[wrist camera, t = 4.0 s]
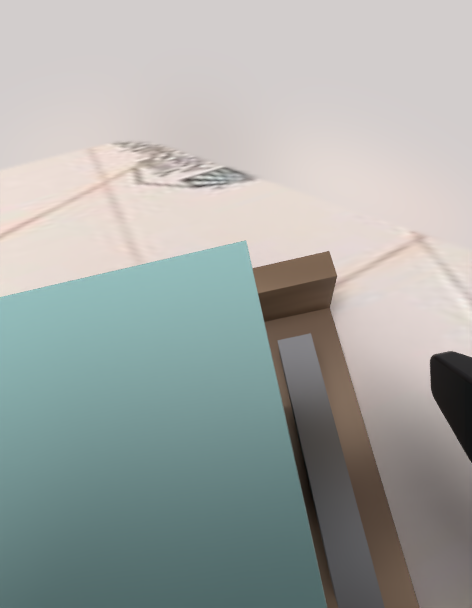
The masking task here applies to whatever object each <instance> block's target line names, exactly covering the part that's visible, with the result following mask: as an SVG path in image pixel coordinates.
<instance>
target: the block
mask: <svg viewBox="0 0 472 608" xmlns="http://www.w3.org/2000/svg"><path fill="white" fill-rule="evenodd" d="M0 608H327V604H326V599H325V595H324V590H323V585H322V581H321V576H320V571H319V567H318V562H317V558H316V553H315V548H314V544H313V539H312V535H311V530H310V525H309V521H308V516H307V512H306V507H305V503H304V498H303V493H302V489H301V484H300V480H299V475H298V471H297V466H296V462H295V457H294V453H293V448H292V444H291V439H290V434H289V430H288V425H287V421H286V416H285V412H284V407H283V403H282V398H281V394H280V389H279V385H278V380H277V376H276V372H275V367H274V363H273V358H272V354H271V349H270V345H269V340H268V336H267V331H266V327H265V323H264V318H263V314H262V309H261V305H260V300H259V296H258V291H257V287H256V282H255V278H254V274H253V269H252V265H251V260H250V256H249V251H248V247H247V242H246V241H241V242H237V243H233V244H228V245H224V246H220V247H216V248H211V249H207V250H203V251H198V252H194V253H190V254H185V255H181V256H177V257H172V258H168V259H164V260H159V261H155V262H151V263H146V264H142V265H138V266H133V267H129V268H125V269H120V270H116V271H112V272H107V273H103V274H99V275H94V276H90V277H86V278H81V279H77V280H73V281H68V282H64V283H60V284H55V285H51V286H47V287H43V288H38V289H34V290H30V291H25V292H21V293H17V294H12V295H8V296H4V297H0Z"/></svg>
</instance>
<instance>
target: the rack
mask: <svg viewBox="0 0 472 608" xmlns="http://www.w3.org/2000/svg"><path fill="white" fill-rule="evenodd" d="M252 269H253V274H254V278H255V282H256V287H257V291H258V296H259V300H260V305H261V309H262V314H263V318H264V323H265V327H266V331H267V336H268V340H269V345H270V349H271V354H272V358H273V363H274V367H275V372H276V376H277V380H278V385H279V389H280V394H281V398H282V403H283V407H284V412H285V416H286V421H287V425H288V430H289V434H290V439H291V444H292V448H293V453H294V457H295V462H296V466H297V471H298V475H299V480H300V484H301V489H302V493H303V498H304V503H305V507H306V512H307V516H308V521H309V525H310V530H311V535H312V539H313V544H314V548H315V553H316V558H317V562H318V567H319V571H320V576H321V581H322V585H323V590H324V595H325V599H326V604H327V608H419V605H418V602H417V599H416V595H415V592H414V588H413V585H412V582H411V578H410V575H409V572H408V568H407V565H406V562H405V558H404V555H403V552H402V548H401V545H400V542H399V538H398V535H397V532H396V528H395V525H394V522H393V518H392V515H391V512H390V508H389V505H388V502H387V498H386V495H385V491H384V488H383V485H382V481H381V478H380V475H379V471H378V468H377V465H376V461H375V458H374V455H373V451H372V448H371V445H370V441H369V438H368V435H367V431H366V428H365V425H364V421H363V418H362V415H361V411H360V408H359V405H358V401H357V398H356V394H355V391H354V388H353V384H352V381H351V378H350V374H349V371H348V368H347V364H346V361H345V358H344V354H343V351H342V348H341V344H340V341H339V338H338V334H337V331H336V328H335V324H334V321H333V318H332V314H331V311H330V304H331V300H332V295H333V291H334V287H335V283H336V278H337V274H336V271H335V268H334V265H333V262H332V258H331V255H330V252H329V251H327V252H323V253H319V254H314V255H310V256H305V257H301V258H296V259H292V260H288V261H283V262H279V263H274V264H270V265H265V266H261V267H257V268H252Z"/></svg>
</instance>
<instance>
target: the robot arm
mask: <svg viewBox="0 0 472 608" xmlns="http://www.w3.org/2000/svg"><path fill="white" fill-rule="evenodd" d="M430 376H431V391H432V394H433V397H434V399H435V401H436V402H437V404H438V406H439V408H440V409H441V411H442V413H443V415H444V416H445V418H446V420H447V422H448V423H449V425H450V427H451V428H452V430H453V432H454V434H455V435H456V437H457V439H458V441H459V442H460V444H461V446H462V448H463V449H464V451H465V453H466V454H467V456H468V458H469V459H470V461H471V463H472V357H469V356H466V355H463V354H459V353H456V352H453V351H449V352H444V353H439V354H434V355H433V356H432V357H431V359H430Z"/></svg>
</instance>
